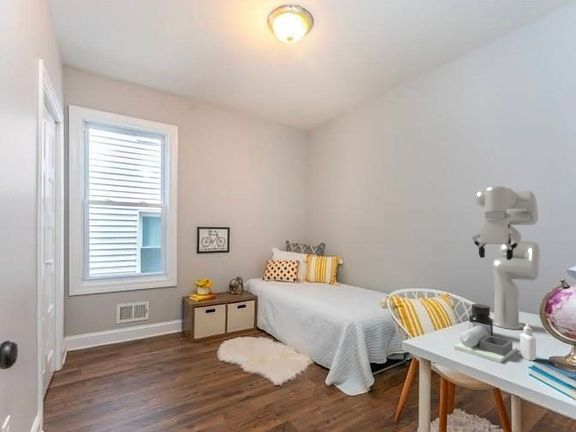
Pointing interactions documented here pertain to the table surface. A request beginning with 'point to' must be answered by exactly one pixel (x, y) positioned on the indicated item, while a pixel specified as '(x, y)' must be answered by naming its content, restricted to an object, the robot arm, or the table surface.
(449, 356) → the table surface
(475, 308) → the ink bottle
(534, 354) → the eye dropper bottle
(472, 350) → the motor mount
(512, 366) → the table surface
